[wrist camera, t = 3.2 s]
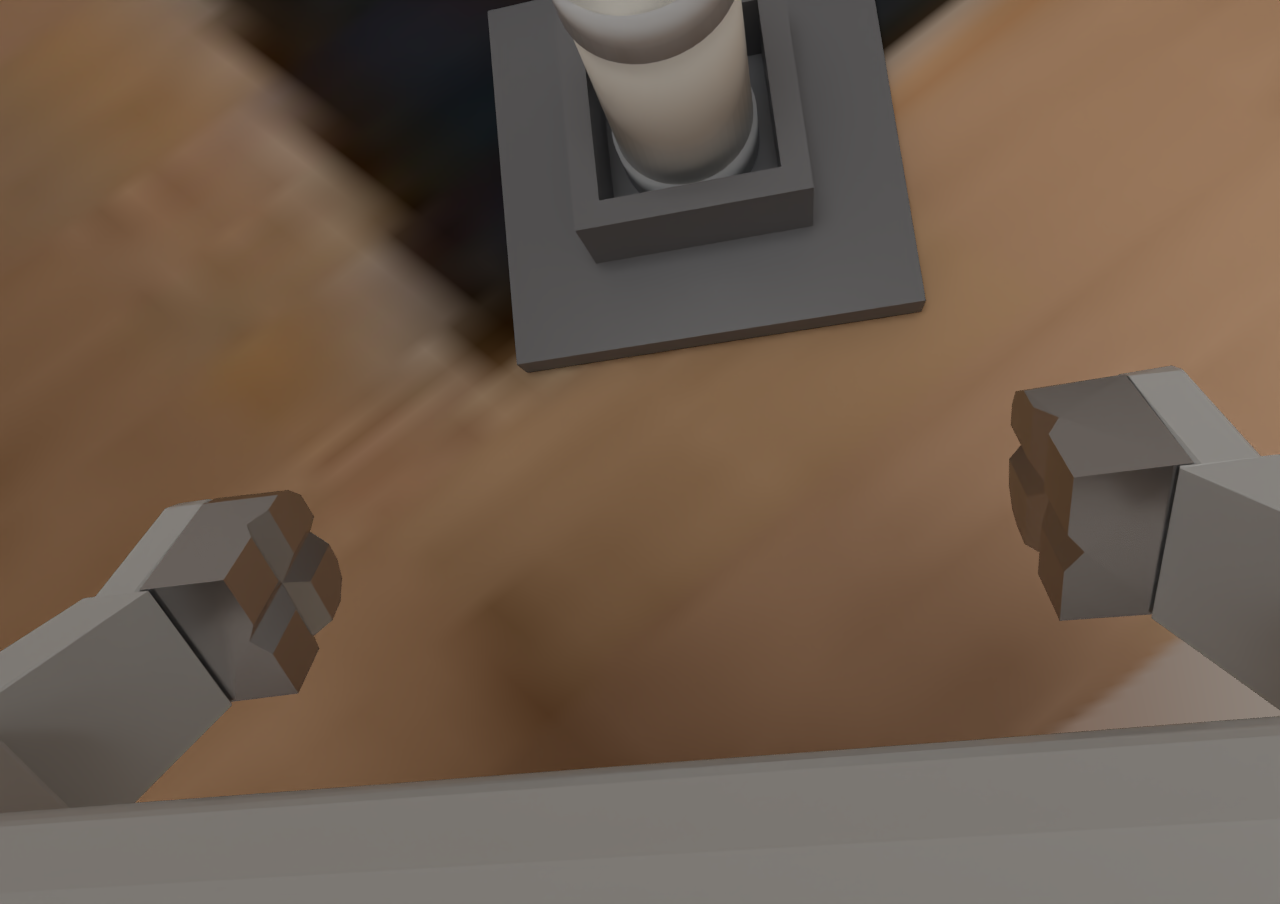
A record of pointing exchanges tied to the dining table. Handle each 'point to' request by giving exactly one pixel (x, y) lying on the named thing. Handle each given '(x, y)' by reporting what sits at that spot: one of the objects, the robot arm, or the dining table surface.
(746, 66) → the white rounded cylinder
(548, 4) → the plate
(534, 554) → the dining table surface
